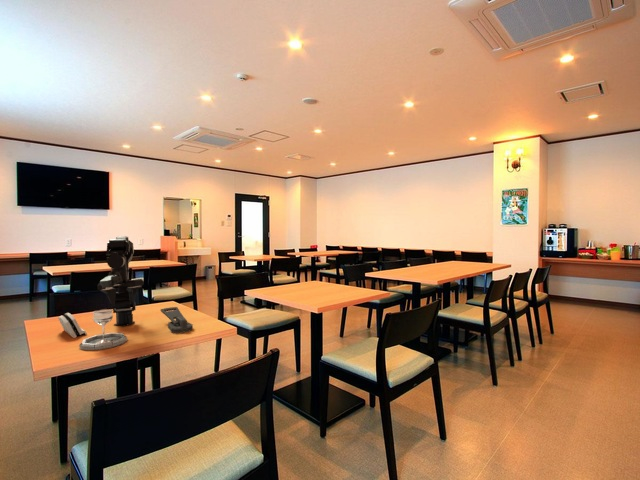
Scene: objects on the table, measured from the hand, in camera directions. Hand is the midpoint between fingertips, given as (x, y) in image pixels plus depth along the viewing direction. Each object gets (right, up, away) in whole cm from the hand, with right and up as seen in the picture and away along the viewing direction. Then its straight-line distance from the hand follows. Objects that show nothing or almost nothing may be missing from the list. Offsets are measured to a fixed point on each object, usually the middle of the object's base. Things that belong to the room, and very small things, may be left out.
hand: (122, 304), depth 148 cm
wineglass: (0, -13, -12) cm, 17 cm away
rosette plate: (0, -13, -12) cm, 18 cm away
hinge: (-23, -13, +2) cm, 27 cm away
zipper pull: (+19, -13, +11) cm, 25 cm away
